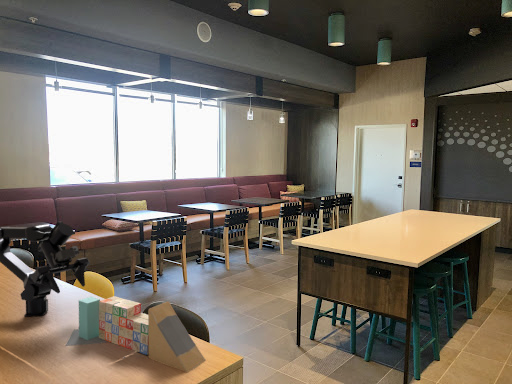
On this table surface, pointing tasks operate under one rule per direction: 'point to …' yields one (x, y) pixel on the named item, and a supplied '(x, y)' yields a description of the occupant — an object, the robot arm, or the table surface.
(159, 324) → the sandwich container
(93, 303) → the teal block
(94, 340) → the charcoal mat
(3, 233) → the robot arm
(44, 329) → the table surface
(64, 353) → the table surface
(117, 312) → the stack of blocks
